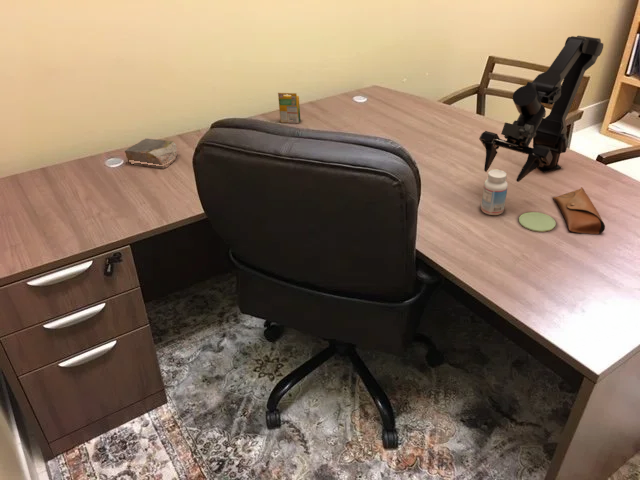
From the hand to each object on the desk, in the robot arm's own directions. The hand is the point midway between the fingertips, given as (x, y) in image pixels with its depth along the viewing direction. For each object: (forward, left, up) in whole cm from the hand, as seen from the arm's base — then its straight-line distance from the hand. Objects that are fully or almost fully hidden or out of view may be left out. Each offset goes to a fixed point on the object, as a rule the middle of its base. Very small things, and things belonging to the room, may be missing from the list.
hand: (500, 176), depth 141 cm
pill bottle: (+2, +1, -10) cm, 10 cm away
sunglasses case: (-17, +12, -10) cm, 23 cm away
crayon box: (+33, -84, -10) cm, 91 cm away
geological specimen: (+85, -72, -10) cm, 112 cm away
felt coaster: (-5, +11, -9) cm, 15 cm away
